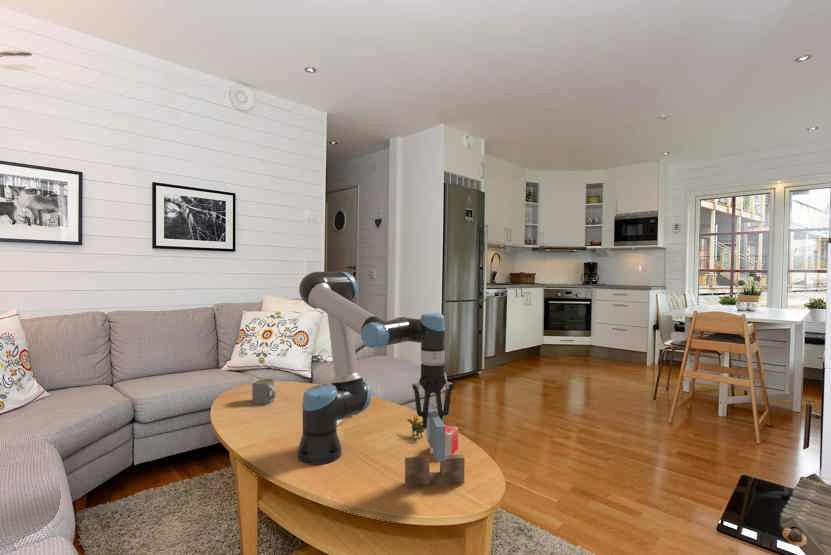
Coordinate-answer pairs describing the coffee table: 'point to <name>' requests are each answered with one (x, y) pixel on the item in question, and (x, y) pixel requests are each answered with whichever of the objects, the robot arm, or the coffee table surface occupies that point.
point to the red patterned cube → (450, 440)
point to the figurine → (417, 426)
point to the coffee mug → (263, 391)
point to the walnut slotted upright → (421, 476)
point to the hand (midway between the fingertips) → (432, 437)
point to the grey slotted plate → (437, 435)
